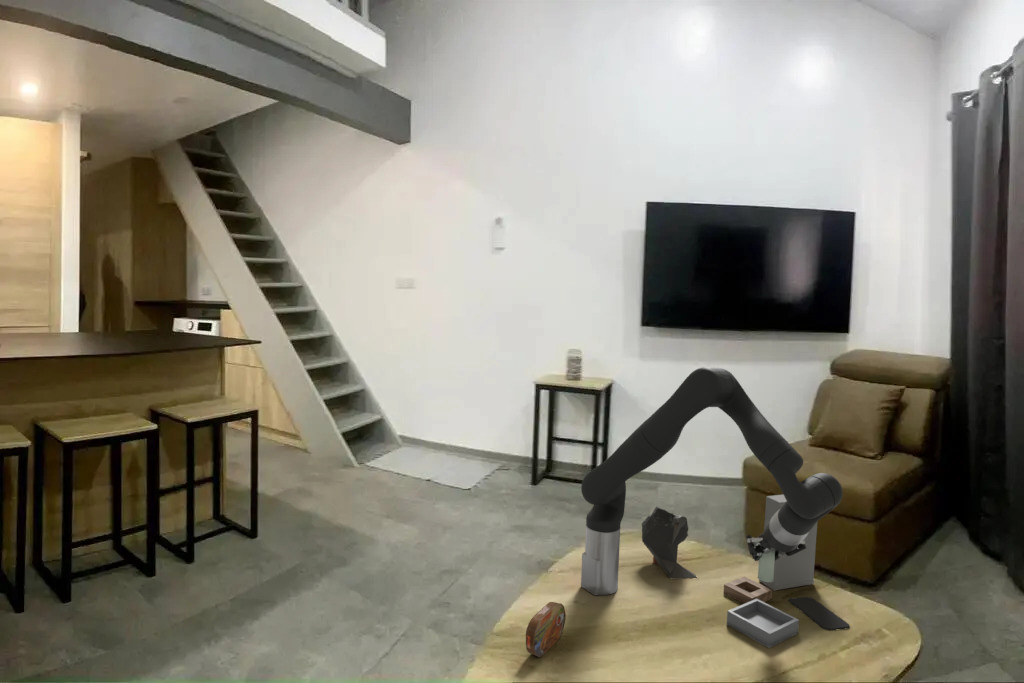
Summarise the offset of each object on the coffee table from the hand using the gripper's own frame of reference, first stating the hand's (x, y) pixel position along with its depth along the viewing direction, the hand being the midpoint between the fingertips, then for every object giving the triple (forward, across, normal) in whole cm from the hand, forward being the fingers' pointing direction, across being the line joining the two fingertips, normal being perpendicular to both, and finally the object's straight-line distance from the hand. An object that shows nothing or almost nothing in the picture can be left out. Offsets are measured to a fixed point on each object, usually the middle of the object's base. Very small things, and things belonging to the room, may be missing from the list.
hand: (763, 557), depth 150 cm
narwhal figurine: (+34, +16, -9) cm, 38 cm away
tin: (+4, +53, +21) cm, 57 cm away
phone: (+17, -17, +8) cm, 26 cm away
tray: (+11, 0, +14) cm, 17 cm away
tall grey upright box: (+28, -16, -4) cm, 33 cm away
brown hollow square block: (+22, -2, +2) cm, 22 cm away
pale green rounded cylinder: (+2, 0, +5) cm, 5 cm away
